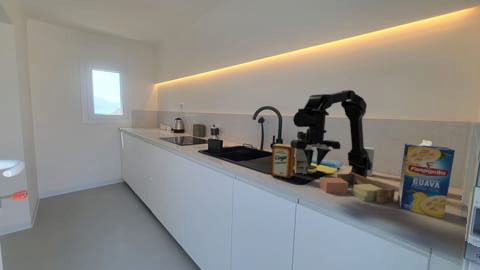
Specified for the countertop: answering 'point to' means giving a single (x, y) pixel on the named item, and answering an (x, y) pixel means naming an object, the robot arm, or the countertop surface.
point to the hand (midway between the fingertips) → (313, 165)
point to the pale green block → (365, 192)
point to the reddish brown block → (333, 185)
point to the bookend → (346, 178)
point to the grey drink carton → (300, 162)
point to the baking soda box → (282, 160)
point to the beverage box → (425, 179)
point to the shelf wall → (382, 194)
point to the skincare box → (371, 157)
